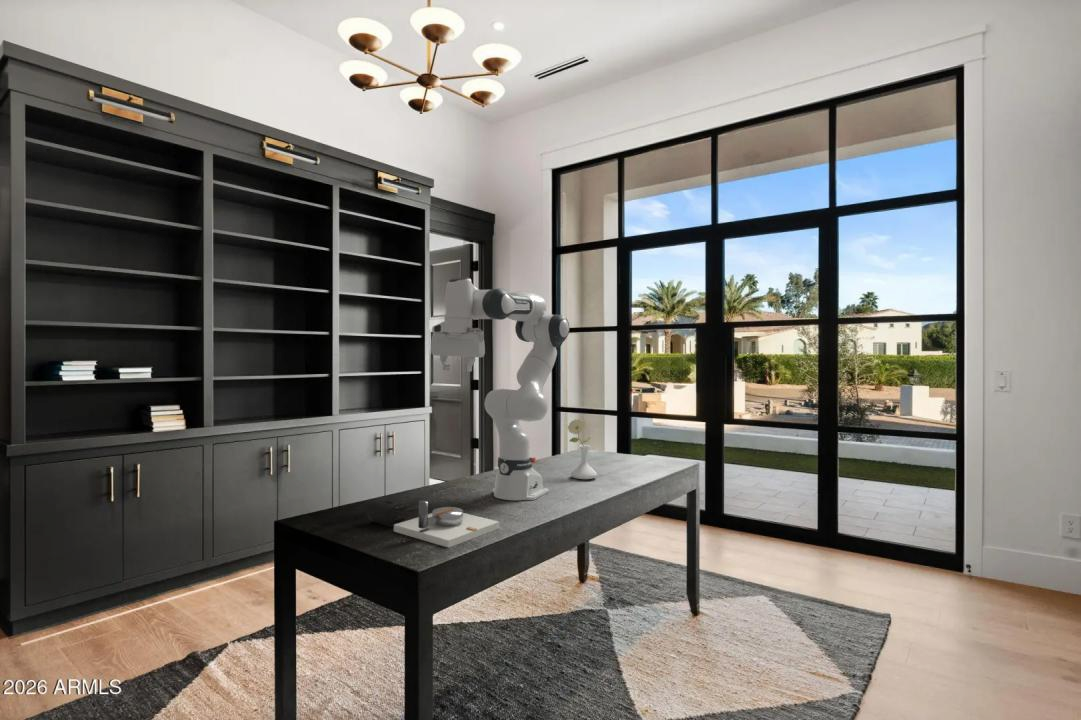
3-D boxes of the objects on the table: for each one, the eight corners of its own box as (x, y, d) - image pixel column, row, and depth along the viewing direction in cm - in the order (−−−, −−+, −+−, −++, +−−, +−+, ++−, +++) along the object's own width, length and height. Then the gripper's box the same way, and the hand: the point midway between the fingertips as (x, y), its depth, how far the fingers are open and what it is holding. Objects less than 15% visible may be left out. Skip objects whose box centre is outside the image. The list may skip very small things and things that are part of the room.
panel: (446, 514, 192) (446, 507, 192) (499, 528, 180) (499, 520, 180) (393, 531, 174) (393, 523, 174) (448, 547, 162) (448, 538, 162)
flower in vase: (597, 476, 255) (599, 418, 254) (596, 482, 244) (598, 421, 243) (567, 474, 257) (569, 416, 256) (564, 480, 246) (566, 420, 245)
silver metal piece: (447, 515, 183) (447, 489, 183) (469, 520, 178) (469, 494, 178) (408, 527, 170) (409, 499, 170) (430, 533, 165) (431, 505, 165)
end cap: (365, 524, 181) (366, 502, 181) (385, 519, 187) (385, 497, 186) (386, 531, 175) (387, 508, 175) (405, 525, 181) (406, 503, 180)
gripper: (489, 328, 187) (488, 372, 188) (441, 328, 199) (440, 369, 199) (477, 327, 182) (475, 372, 182) (428, 327, 193) (427, 369, 194)
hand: (457, 370), depth 191 cm, fingers open, 8 cm apart
